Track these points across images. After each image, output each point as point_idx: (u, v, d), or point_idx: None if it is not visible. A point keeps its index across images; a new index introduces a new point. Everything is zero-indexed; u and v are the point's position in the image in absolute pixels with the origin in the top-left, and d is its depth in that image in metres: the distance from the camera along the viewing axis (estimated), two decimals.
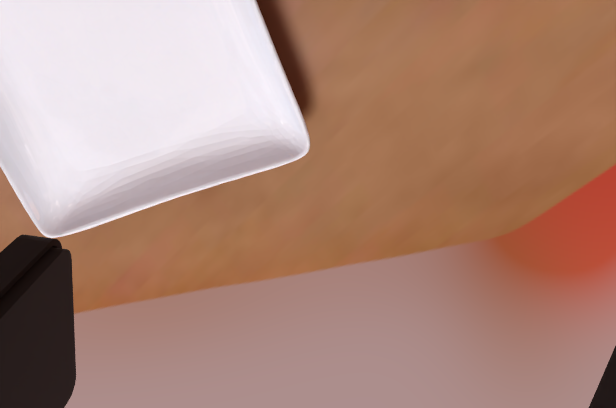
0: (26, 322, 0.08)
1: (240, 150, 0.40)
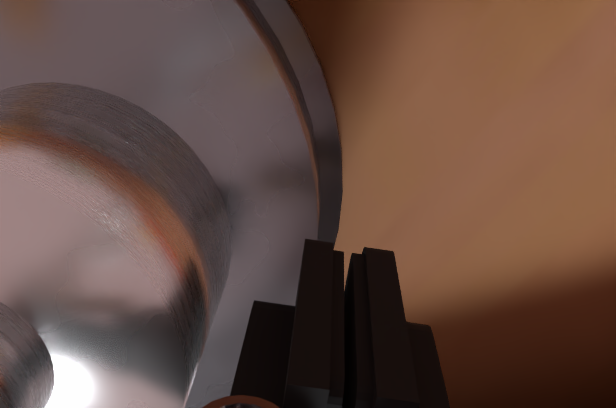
0: None
1: None
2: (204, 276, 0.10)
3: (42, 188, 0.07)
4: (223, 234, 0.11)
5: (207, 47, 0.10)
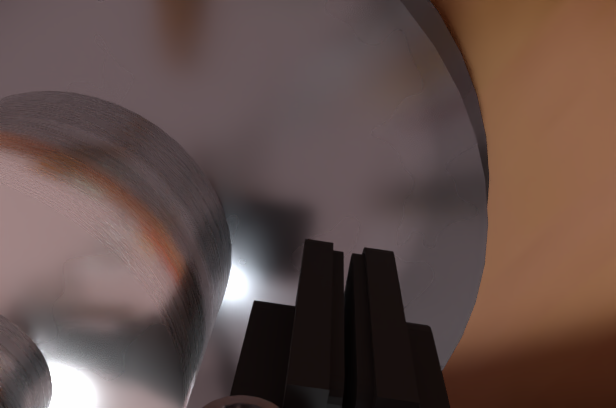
0: None
1: None
2: (202, 284, 0.10)
3: (37, 199, 0.07)
4: (222, 240, 0.11)
5: (397, 82, 0.10)
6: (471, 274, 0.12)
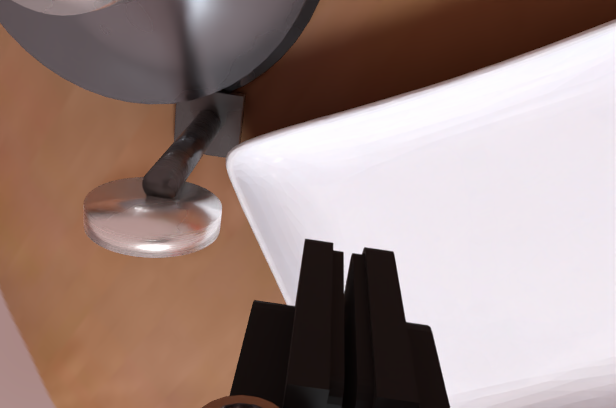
0: None
1: None
2: None
3: None
4: None
5: None
6: None
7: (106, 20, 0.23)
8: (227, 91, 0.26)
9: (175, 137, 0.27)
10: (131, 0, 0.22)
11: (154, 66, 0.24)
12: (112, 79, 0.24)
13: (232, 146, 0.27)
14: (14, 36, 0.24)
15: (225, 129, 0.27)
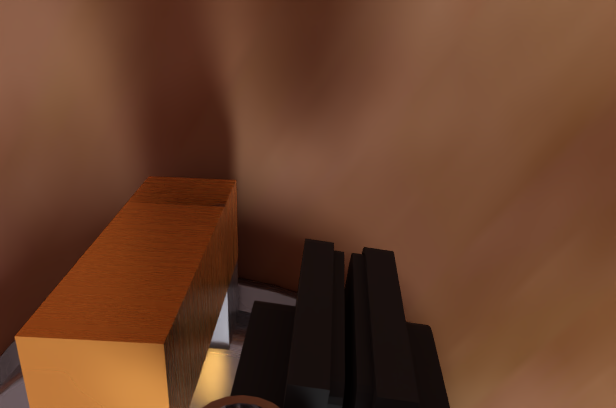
0: None
1: None
2: None
3: None
4: None
5: None
6: None
7: None
8: None
9: None
10: None
11: None
12: None
13: None
14: None
15: None
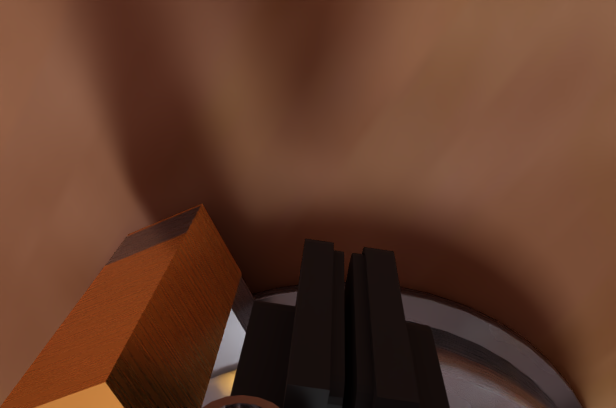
0: None
1: None
2: None
3: None
4: None
5: None
6: None
7: None
8: None
9: None
10: None
11: None
12: None
13: None
14: None
15: None
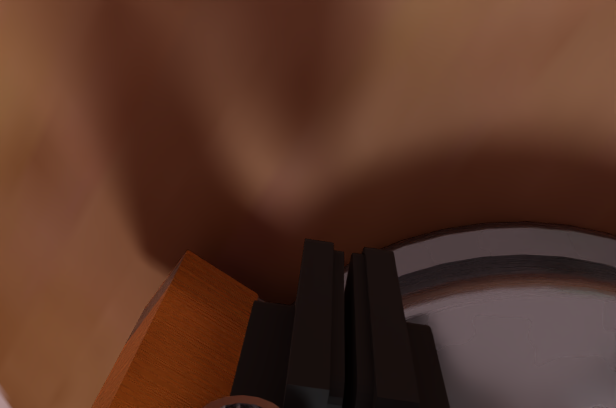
0: None
1: None
2: None
3: None
4: None
5: (511, 333, 0.12)
6: None
7: None
8: None
9: None
10: None
11: None
12: None
13: None
14: None
15: None
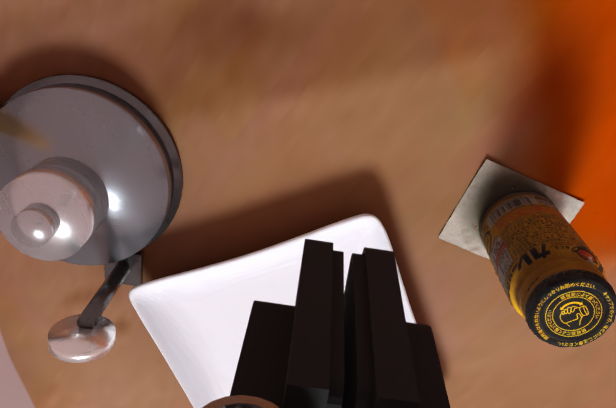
0: None
1: None
2: (58, 169, 0.40)
3: (9, 182, 0.39)
4: (70, 161, 0.41)
5: (48, 101, 0.40)
6: (108, 105, 0.40)
7: (113, 220, 0.44)
8: None
9: (105, 275, 0.48)
10: (105, 205, 0.43)
11: (143, 212, 0.43)
12: (141, 234, 0.44)
13: (137, 279, 0.48)
14: (105, 263, 0.46)
15: (132, 271, 0.48)
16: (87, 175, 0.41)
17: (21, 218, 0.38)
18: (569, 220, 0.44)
